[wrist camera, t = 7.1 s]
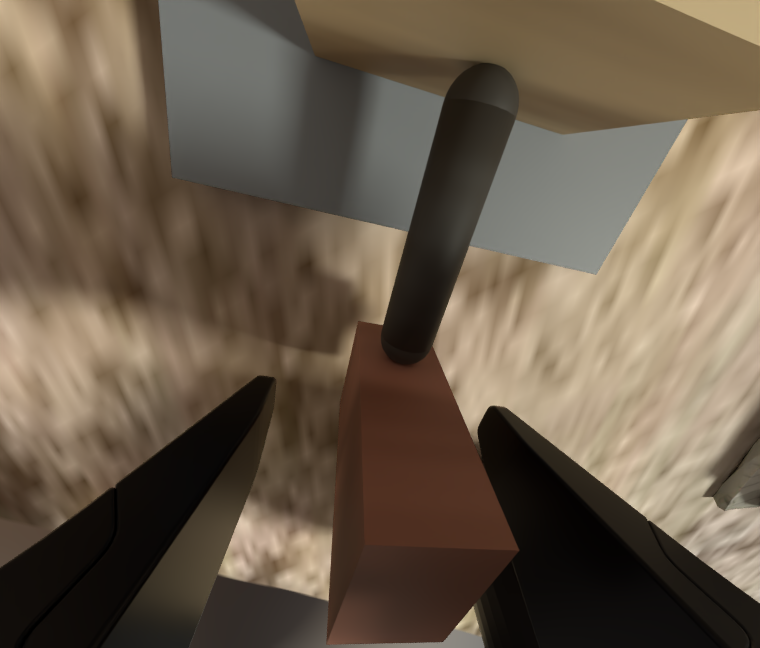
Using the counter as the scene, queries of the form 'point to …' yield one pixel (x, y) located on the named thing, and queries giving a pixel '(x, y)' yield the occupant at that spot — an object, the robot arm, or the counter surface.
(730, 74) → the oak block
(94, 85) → the counter surface
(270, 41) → the shelf lane
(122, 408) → the counter surface
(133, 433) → the counter surface
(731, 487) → the packaged product
